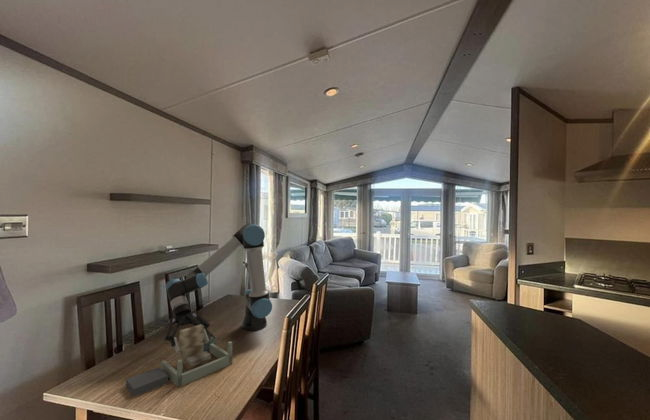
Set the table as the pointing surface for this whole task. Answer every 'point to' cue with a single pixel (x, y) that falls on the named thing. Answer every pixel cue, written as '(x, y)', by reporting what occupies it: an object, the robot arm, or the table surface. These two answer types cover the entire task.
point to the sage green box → (201, 371)
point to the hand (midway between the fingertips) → (193, 347)
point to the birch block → (191, 342)
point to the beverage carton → (211, 340)
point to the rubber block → (146, 381)
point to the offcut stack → (196, 361)
